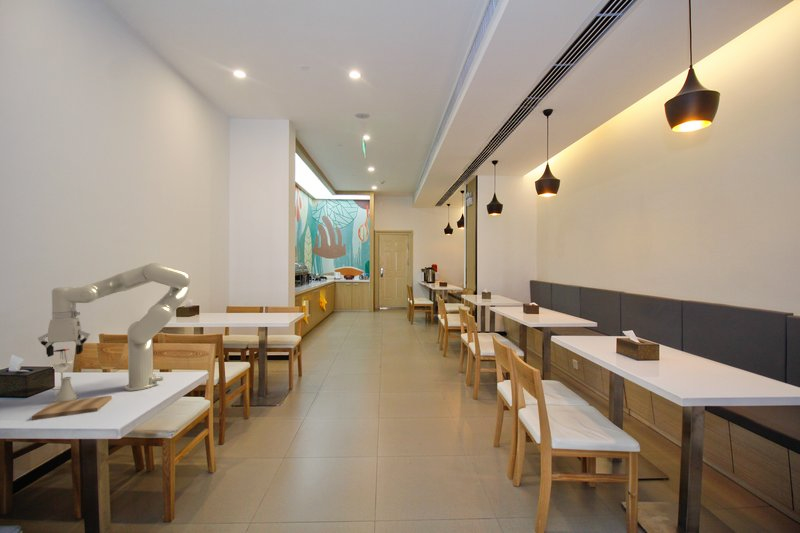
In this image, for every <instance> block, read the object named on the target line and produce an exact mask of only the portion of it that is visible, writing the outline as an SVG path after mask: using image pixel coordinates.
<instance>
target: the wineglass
mask: <svg viewBox="0 0 800 533" xmlns="http://www.w3.org/2000/svg"><path fill="white" fill-rule="evenodd" d="M73 363H74V357H73V354H72V351H71V349H70V348H61V349H55V350H54V355H52V356H50V361H49V365H50V367H51V368H52V367H53V368H52V369H54V370H55V371H58V372H59V373H60V384H61V383H62V380H61V378H64V372H65V371H66V370H67V369H68V368H70V367H71V366H72V364H73ZM60 388H61V385H57V386H55V387H53V388H52V389H53V390H60Z"/></svg>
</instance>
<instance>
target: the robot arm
mask: <svg viewBox="0 0 800 533" xmlns="http://www.w3.org/2000/svg"><path fill="white" fill-rule="evenodd" d="M153 282H155V283H157V284H161V285H165V286H168V287H169V289H168V291H167V293H165V294H164V295H163V296H162V297H161V298H160V299H159V300H158V301H156V302H155V304H154V305H152V306H151V307H149V309H148V310H147V313H146V314H145V315H144V316H143V317H142V318H140V319H139V320H137V321H134V322H132V323H131V324H130V325H129V327H128V328H127V332H126V333H127V352H128V353H127V355H128V356H127V358H128V360H127V365H128V366H127V367H128V384H126V385H125V386H124V390H125V391H132V392H133V391H142V390H146V389H149V388H153V387H155V386H157V384H158V382H163V381H164V376H162V375H159V376H156V374H155V373H154V365H153V364H154V361H153V360H154V358H153V357H154V355H153V352H154V350H153V348H154V347H153V345H154V344H153V343H154V342H153V338H154V337H155V336H156V335H157V334H158V333H160V331H162V329H163V328H164V327H165V326H166V325H168V324H169V322H170V321H171V320H172V318H173V313H174V312H176V310H177V309H178V308H179V307H180V306H181V305H182V303H184V302H185V300H186V298H188V295H189V292H190V282H191V278H190V275H189V274H188V273H187V272H184V271H181V270H178V269H175V268H172V267H168V266H165V265H162V264H160V263H155V262H154V263H147V264H145V265H141V266H139V267H136V268H132V269H130V270H126V271H123V272H120V273H117V274H115V275H113V276H111V277H108V278H106V279H102V280H99V281H96V282H93V283H91V284H86V285H83V286H79V287H73V286H72V287H71V286H62V287H61V286H60V287H54V288H53V289H52V290H51V319H49V324H48V329H47V333H45V334H43V335H40V336H38V337H37V340H38V341H39V343H40V344H41V345H42V346H44V348H46V349H45V352H46V353H45V354H46V355H47V358H48V357H49V358H51V357H52V355H54V351H55V350H54V348H55V346H53V345H54V344H55V343H68V342H69V343H70V342H74V343H75V344H76V346H75V354H76V355H80V354H82V353H83V348H84V346H83V344H85V342H87V341H88V340H89V338H90V336H91V333H89V332H87V331H83V330H82V325H81V321H80V318H79V317H78V316H80V315H81V313H80V311H79V312H78V311H77V304H80V303H81V304H91V303H93V302H94V301H96V300H98V299H101V298H104V297H106V296H110V295H113V294H116V293H121V292H126V291H129V290H132V289H135V288H137V287H141V286H143V285H146V284H149V283H153ZM82 337H83V338H82ZM46 338H47V340H46Z"/></svg>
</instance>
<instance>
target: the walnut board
mask: <svg viewBox="0 0 800 533" xmlns="http://www.w3.org/2000/svg"><path fill="white" fill-rule="evenodd" d="M112 397H113V396H112V395H106V396H104V395H103V396H98V397H89V398H81V399H75V400H71V401H63V402H51V403H50V404H48V405H47V406H45V407H44V408H42V409H41V410H39V411H37V412H36V413H34V414H33V415H31V421H34V420H35V421H36V420H42V419H49V418H50V419H51V418H57V417H65V416H73V415H80V414H86V413H95V412H98V411H99V410H100V409H101V408H103V407H104V406H105V405H106V404H108V403H109V402H110V401H111V400H112Z"/></svg>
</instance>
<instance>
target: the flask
mask: <svg viewBox="0 0 800 533" xmlns="http://www.w3.org/2000/svg"><path fill="white" fill-rule="evenodd" d="M71 379H72V376H63V378H61V377H60V381H61V380H62V383H61V382H60V386H61V388H60V389H58V392H57V395H56V397H55V398H54V402H53V403H55V402H63V401H71V400H78V398H79V397H78V395H77V394H76V392H75V390H74V388H73V386H72V383H71Z"/></svg>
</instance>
